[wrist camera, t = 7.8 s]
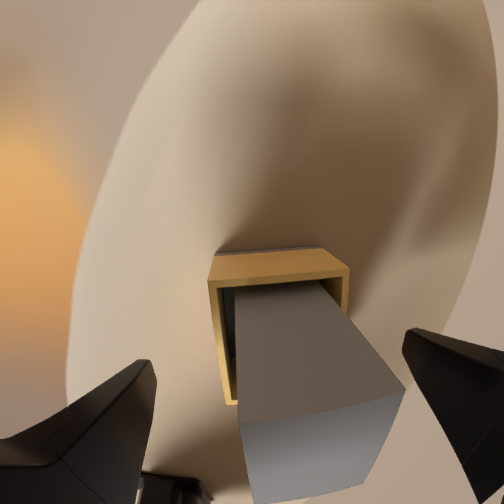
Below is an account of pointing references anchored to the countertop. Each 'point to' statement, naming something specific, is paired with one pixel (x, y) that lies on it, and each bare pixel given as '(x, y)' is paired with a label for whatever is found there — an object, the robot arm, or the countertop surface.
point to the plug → (307, 392)
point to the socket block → (264, 272)
